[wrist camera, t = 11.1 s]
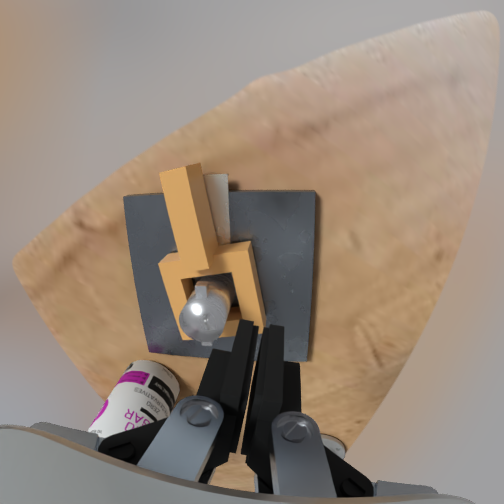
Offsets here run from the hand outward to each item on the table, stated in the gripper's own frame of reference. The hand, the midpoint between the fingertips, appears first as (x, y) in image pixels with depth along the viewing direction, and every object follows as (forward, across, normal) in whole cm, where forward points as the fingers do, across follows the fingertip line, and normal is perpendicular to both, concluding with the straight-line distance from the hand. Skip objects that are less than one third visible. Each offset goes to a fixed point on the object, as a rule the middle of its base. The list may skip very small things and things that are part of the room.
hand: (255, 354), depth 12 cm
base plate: (+22, +5, +8) cm, 24 cm away
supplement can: (+22, +13, +26) cm, 36 cm away
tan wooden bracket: (+20, +6, +4) cm, 22 cm away
